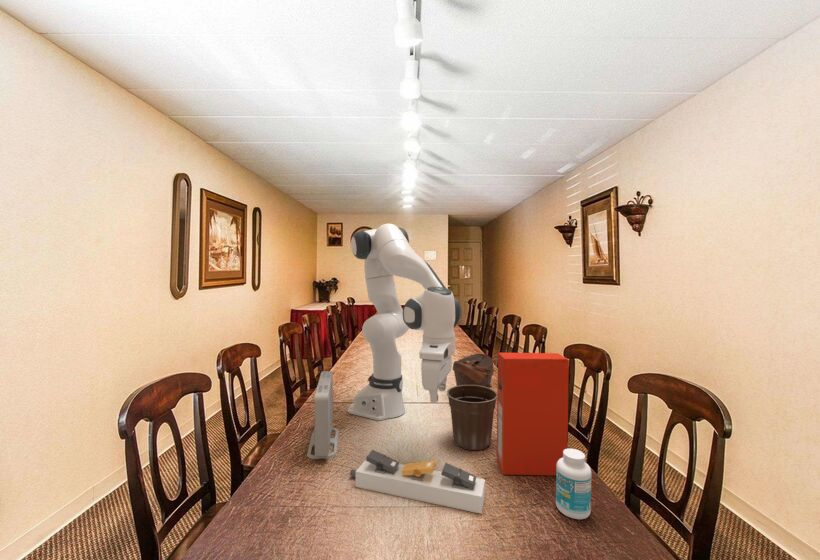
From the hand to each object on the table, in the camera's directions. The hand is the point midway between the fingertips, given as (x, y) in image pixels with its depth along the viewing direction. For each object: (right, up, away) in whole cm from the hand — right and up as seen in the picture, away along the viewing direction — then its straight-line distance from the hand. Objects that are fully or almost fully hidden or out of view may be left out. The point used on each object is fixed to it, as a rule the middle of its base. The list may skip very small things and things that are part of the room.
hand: (438, 396), depth 97 cm
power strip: (-7, -21, -8) cm, 24 cm away
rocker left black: (-15, -16, -5) cm, 22 cm away
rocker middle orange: (-5, -16, -8) cm, 19 cm away
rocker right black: (+4, -16, -11) cm, 20 cm away
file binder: (+26, -21, +3) cm, 34 cm away
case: (+20, -20, +57) cm, 64 cm away
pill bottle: (+30, -22, -15) cm, 40 cm away
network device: (-35, -21, +16) cm, 44 cm away
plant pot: (+12, -21, +18) cm, 30 cm away
